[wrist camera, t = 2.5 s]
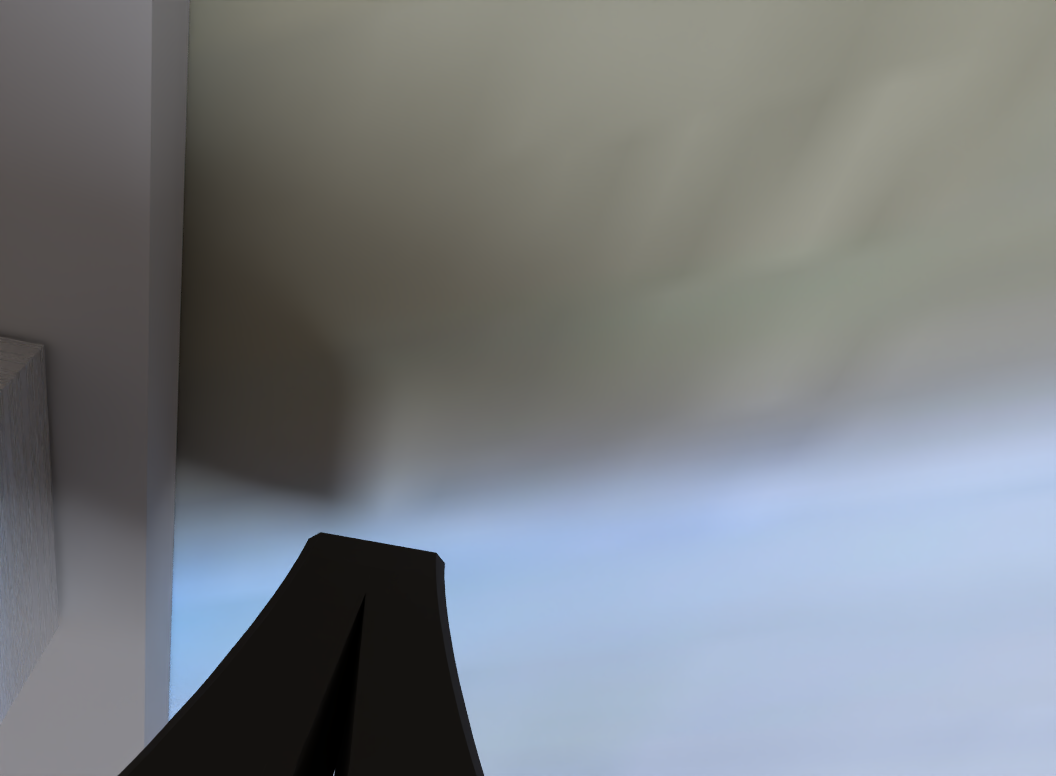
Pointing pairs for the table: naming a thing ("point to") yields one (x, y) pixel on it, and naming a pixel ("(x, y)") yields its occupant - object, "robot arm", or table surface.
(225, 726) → the robot arm
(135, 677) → the gauge board
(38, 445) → the grey block
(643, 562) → the table surface
